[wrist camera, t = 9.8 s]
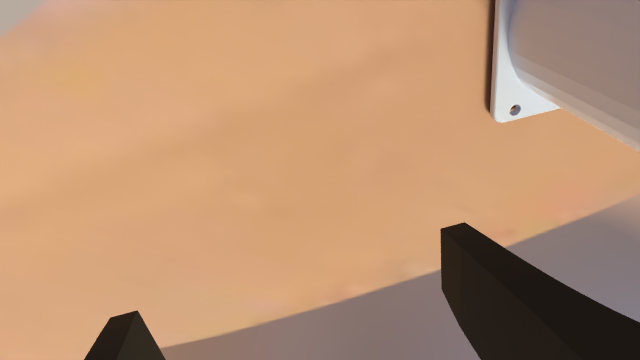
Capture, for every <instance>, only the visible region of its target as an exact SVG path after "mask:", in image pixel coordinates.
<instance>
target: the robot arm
mask: <svg viewBox="0 0 640 360" xmlns="http://www.w3.org/2000/svg"><path fill="white" fill-rule="evenodd" d="M514 105H516V106H515V109H514V110H513V111H511V112H510V109H511V108H512V106H514ZM559 108H562V109H564V110H566V111H567V112H569V113H571V114H573V115H575V116H576V117H578V118H580V119H582V120H583V121H585V122H587V123H589V124H591V125H592V126H594V127H596V128H598V129H599V130H601V131H603V132H605V133H607V134H608V135H610V136H612V137H614V138H615V139H617V140H619V141H621V142H622V143H624V144H626V145H628V146H630V147H631V148H633V149H635V150H637V151H638V152H640V0H496V3H495V23H494V43H493V63H492V83H491V103H490V115H491V117H492V119H494V120H495V121H496V122H499V123H504V122H508V121H512V120H516V119H519V118H523V117H527V116H531V115H535V114H539V113H543V112H547V111H551V110H555V109H559ZM441 275H442V276H441V277H442V290H443V293H444V295H445V297H446V299H447V301H448V303H449V305H450V308H451V309H452V312H453V313H454V316H455V318H456V319H457V322H458V324H459V326H460V327H461V329H462V330H463V332H464V334H465V335H466V337H467V339H468V340H469V342H470V343H471V345H472V346H473V348H474V350H475V351H476V352H477V354H478V356H479V357H480V359H481V360H640V323H639V322H637V321H635V320H633V319H631V318H629V317H627V316H625V315H622V314H620V313H618V312H616V311H614V310H612V309H610V308H608V307H606V306H604V305H602V304H600V303H598V302H596V301H594V300H592V299H591V298H589V297H587V296H585V295H583V294H581V293H579V292H578V291H576V290H574V289H572V288H570V287H568V286H566V285H565V284H563V283H561V282H559V281H558V280H556V279H554V278H552V277H551V276H549V275H547V274H546V273H544V272H542V271H541V270H539V269H537V268H536V267H534V266H532V265H531V264H529V263H527V262H526V261H524V260H523V259H521V258H519V257H518V256H516V255H515V254H513V253H511V252H510V251H508V250H507V249H505V248H504V247H502V246H501V245H499V244H497V243H496V242H494V241H493V240H491V239H490V238H488V237H487V236H485V235H484V234H482V233H480V232H479V231H477V230H476V229H474V228H473V227H471V226H470V225H468V224H466V223H465V222H464V223H461V224H457V225H453V226H449V227H446V228H442V229H441ZM84 360H165V358H164V356H163V354H162V353H161V351H160V349H159V347H158V346H157V344H156V342H155V340H154V338H153V337H152V335H151V333H150V331H149V330H148V328H147V326H146V324H145V323H144V321H143V319H142V317H141V316H140V314H139V312H138V310H137V311H134V312H130V313H126V314H122V315H119V316H115V317H111V318H110V319H109V321H108V322H107V324H106V325H105V327H104V328H103V330H102V332H101V333H100V335H99V336H98V338H97V339H96V341H95V343H94V344H93V346H92V348H91V349H90V351H89V352H88V354H87V356H86V357H85V359H84Z"/></svg>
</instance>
